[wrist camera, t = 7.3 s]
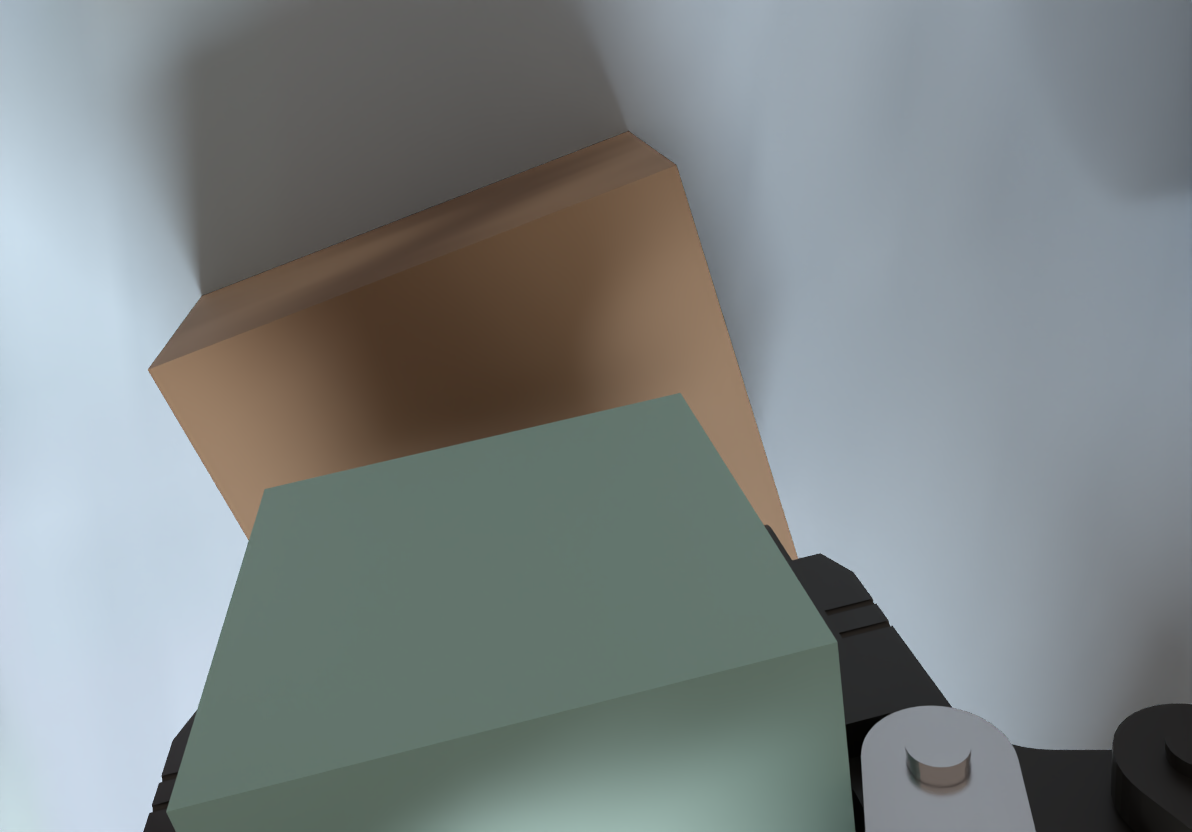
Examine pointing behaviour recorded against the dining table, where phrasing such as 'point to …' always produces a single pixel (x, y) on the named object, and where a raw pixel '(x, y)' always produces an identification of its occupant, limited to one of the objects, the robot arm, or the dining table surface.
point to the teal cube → (521, 649)
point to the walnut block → (468, 333)
